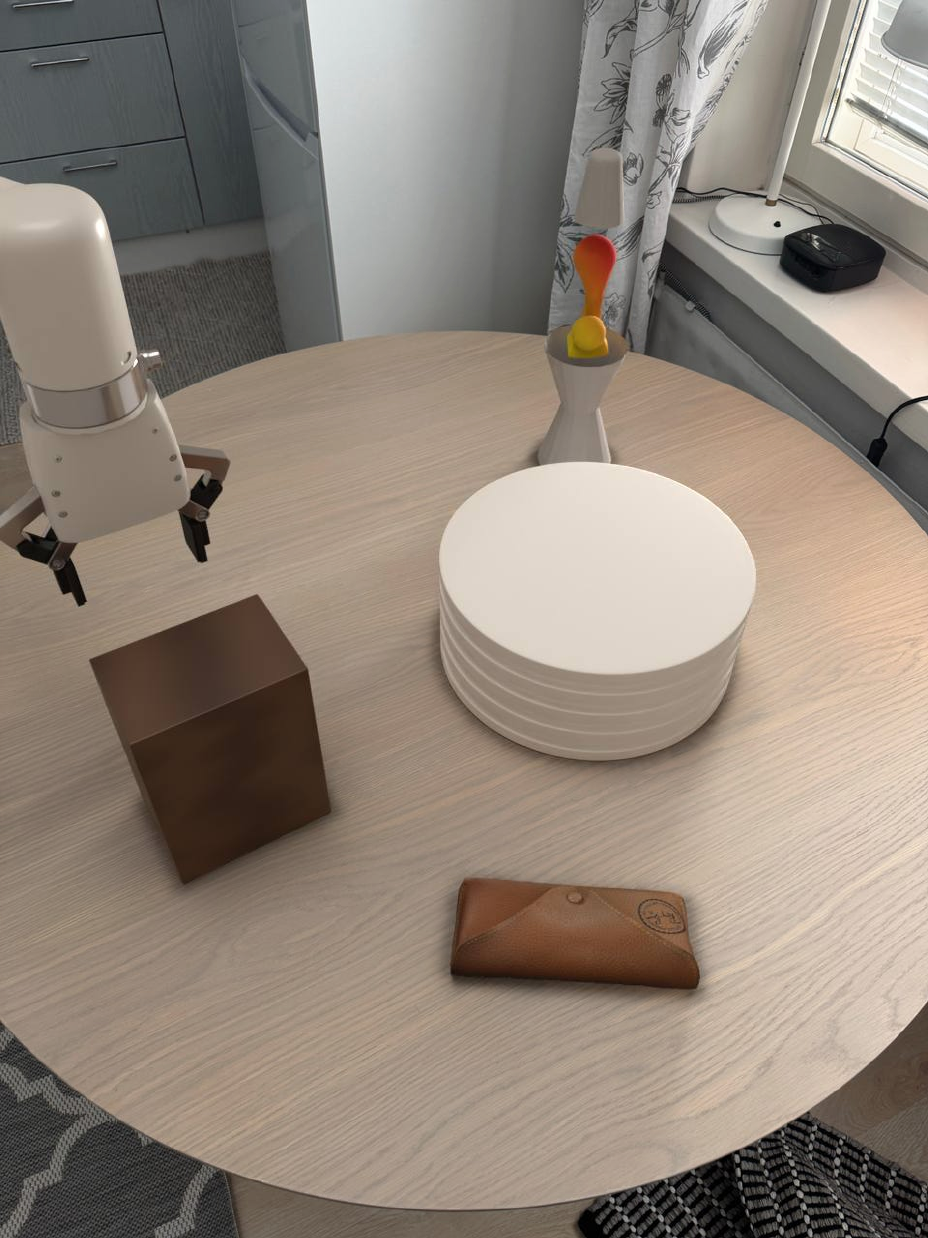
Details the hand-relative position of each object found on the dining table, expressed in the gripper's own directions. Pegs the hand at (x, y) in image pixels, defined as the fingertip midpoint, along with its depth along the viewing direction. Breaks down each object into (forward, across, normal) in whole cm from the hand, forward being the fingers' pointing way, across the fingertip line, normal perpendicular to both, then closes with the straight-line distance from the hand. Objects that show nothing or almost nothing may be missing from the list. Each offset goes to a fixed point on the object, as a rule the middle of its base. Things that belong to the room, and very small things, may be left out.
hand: (138, 572), depth 78 cm
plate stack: (+17, -37, +13) cm, 42 cm away
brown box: (+17, -1, +13) cm, 21 cm away
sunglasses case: (+16, -18, +37) cm, 44 cm away
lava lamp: (+17, -54, -12) cm, 57 cm away
